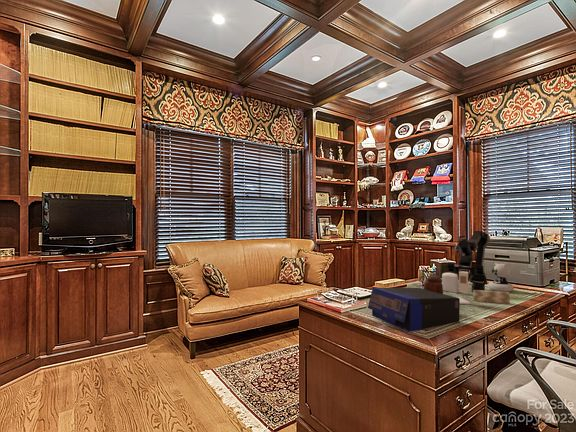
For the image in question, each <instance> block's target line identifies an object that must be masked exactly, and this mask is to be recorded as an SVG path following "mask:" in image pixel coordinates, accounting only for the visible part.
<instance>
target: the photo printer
mask: <svg viewBox="0 0 576 432" xmlns="http://www.w3.org/2000/svg"><path fill="white" fill-rule="evenodd" d="M441 279H442V285H443V292H451V293H454V294H459V292H460V291H459V280H458V276H457V274H456V273H455V272H443V273H442V275H441Z"/></svg>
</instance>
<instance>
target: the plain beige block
mask: <svg viewBox="0 0 576 432" xmlns="http://www.w3.org/2000/svg"><path fill="white" fill-rule="evenodd" d="M459 271H460V272H459V292H462V293H468V292H469V290H470V289H469V288H470V287H469V286H470V285H469V283H470V280H469V281H468V276H469V272H470V271H465V270H459Z"/></svg>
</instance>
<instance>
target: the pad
mask: <svg viewBox="0 0 576 432" xmlns="http://www.w3.org/2000/svg"><path fill="white" fill-rule="evenodd" d="M455 297H456V298H460V305H471V304H472V303H471V301H468V300H467V299H465V298H463V297H461V296H455Z"/></svg>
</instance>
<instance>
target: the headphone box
mask: <svg viewBox="0 0 576 432" xmlns="http://www.w3.org/2000/svg"><path fill="white" fill-rule="evenodd" d="M456 297H457V296H451V295H448V294H445V293H443V294H441V293H437V292H433V291H429V290H425V289H424V288H421V287H372V289H371V294H370V297H369V302H368V306H367V309H369V310H371V316H372V317H374V318H377V319H379V320H382V322H383V321H384V322H385V323H388V324H391V325H393V326H395V327H397V328H400V329H401V330H405V331H406V332H409V333H411V332H416V331H421V330H427V329H430V328H435V327H439V326H441V327H442V326H446V325H450V324H455V323H459V322H460V314H461V313H460V310H461V309H460V307H461V306H460V305H461V304H460V298H456Z"/></svg>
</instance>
